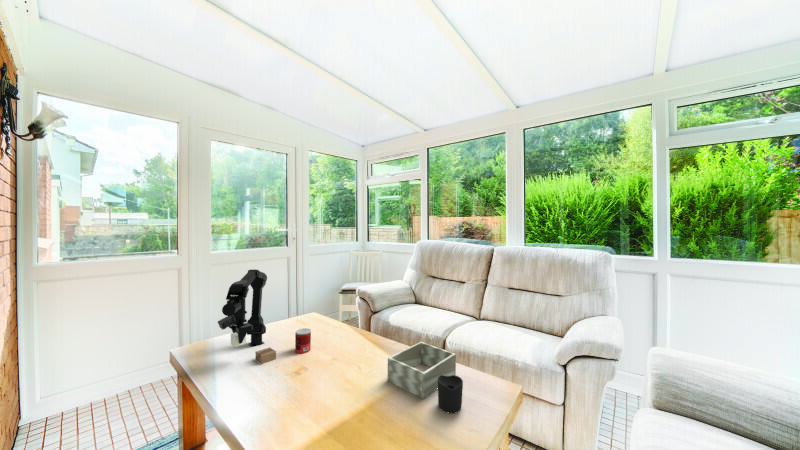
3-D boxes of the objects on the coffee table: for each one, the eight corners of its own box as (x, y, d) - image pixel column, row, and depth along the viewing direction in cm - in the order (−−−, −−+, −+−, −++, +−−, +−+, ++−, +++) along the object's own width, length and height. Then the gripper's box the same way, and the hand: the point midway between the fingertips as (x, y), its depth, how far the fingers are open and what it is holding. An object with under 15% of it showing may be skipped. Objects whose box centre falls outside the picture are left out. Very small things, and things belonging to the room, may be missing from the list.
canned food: (312, 348, 160) (313, 328, 160) (306, 355, 152) (307, 334, 152) (299, 347, 161) (299, 327, 161) (292, 354, 153) (292, 333, 153)
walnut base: (255, 359, 145) (255, 351, 145) (269, 355, 151) (269, 347, 151) (261, 364, 141) (261, 356, 141) (275, 359, 146) (276, 351, 146)
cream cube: (230, 344, 141) (230, 333, 141) (241, 340, 145) (241, 330, 145) (234, 347, 138) (234, 336, 138) (245, 343, 142) (245, 333, 142)
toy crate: (387, 380, 129) (387, 357, 129) (420, 361, 147) (420, 341, 147) (423, 399, 116) (424, 373, 116) (455, 375, 134) (455, 353, 134)
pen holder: (445, 396, 118) (445, 371, 118) (466, 405, 112) (467, 379, 112) (432, 407, 111) (433, 381, 111) (454, 418, 105) (455, 390, 105)
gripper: (213, 309, 141) (213, 341, 142) (227, 317, 129) (226, 353, 129) (238, 304, 150) (237, 334, 150) (253, 312, 137) (253, 345, 138)
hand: (238, 341), depth 141 cm, fingers closed on cream cube, 5 cm apart
